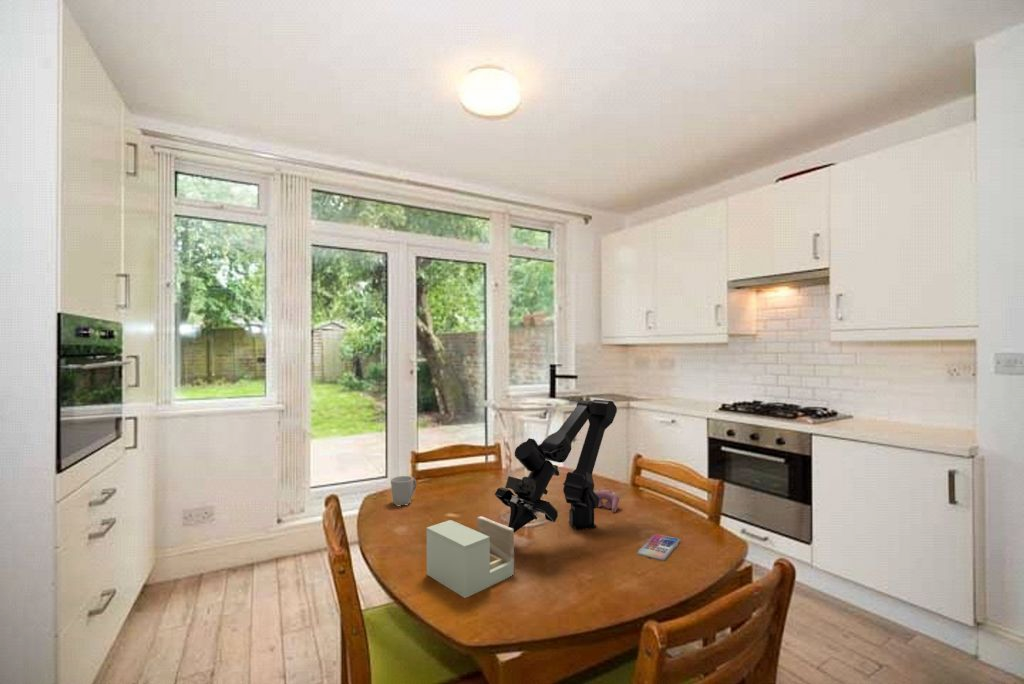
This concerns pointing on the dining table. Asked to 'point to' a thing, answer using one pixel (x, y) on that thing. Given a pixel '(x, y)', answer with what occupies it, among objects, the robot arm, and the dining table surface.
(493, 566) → the drawer
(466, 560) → the caddy
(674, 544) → the smartphone
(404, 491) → the cup
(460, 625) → the dining table surface
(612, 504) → the video game controller
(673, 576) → the dining table surface
